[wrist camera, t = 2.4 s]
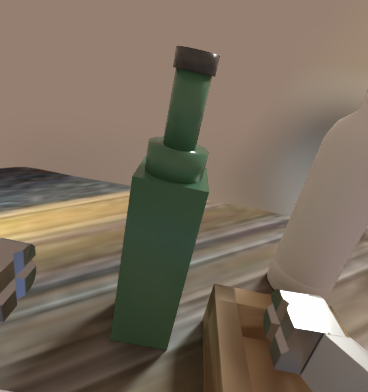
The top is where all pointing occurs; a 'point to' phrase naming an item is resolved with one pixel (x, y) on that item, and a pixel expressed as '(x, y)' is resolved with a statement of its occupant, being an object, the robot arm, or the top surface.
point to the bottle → (327, 212)
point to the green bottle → (165, 211)
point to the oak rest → (242, 345)
